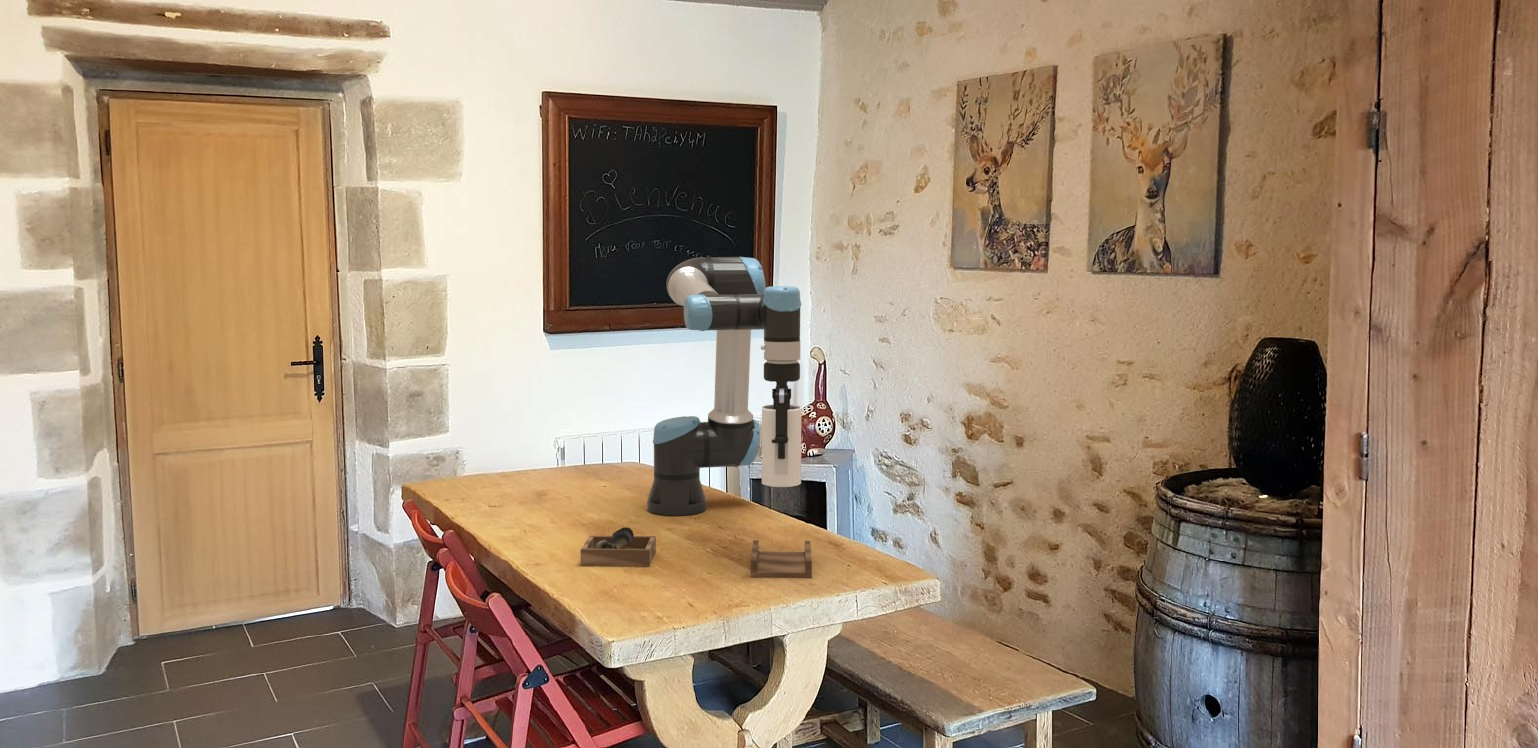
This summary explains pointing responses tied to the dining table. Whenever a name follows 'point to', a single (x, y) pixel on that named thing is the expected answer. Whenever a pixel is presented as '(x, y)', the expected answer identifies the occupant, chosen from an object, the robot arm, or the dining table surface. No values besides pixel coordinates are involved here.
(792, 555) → the brown wooden tray
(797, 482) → the cup
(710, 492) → the dining table surface
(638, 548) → the figurine frame
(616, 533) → the eagle figurine
